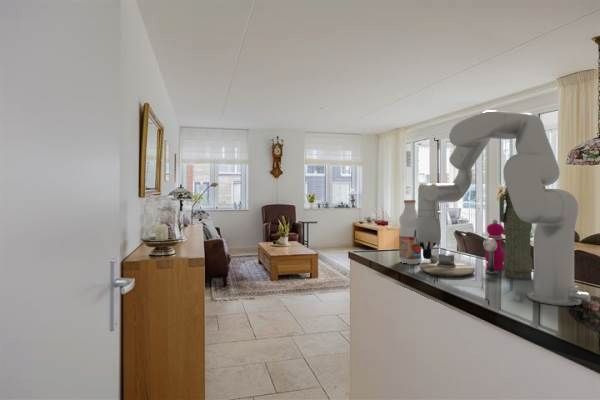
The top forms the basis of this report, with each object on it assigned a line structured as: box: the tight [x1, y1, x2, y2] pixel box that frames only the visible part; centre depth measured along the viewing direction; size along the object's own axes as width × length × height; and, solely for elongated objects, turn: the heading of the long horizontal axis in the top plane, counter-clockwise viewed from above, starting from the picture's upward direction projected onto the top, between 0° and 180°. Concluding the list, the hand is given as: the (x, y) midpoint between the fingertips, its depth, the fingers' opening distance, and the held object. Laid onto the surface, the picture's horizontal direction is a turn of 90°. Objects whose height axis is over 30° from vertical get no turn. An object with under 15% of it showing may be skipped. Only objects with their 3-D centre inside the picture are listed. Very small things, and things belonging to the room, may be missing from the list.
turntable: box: [418, 254, 476, 275], centre depth 143 cm, size 20×20×4 cm
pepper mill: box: [484, 219, 505, 271], centre depth 150 cm, size 7×7×20 cm
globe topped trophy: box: [482, 238, 498, 275], centre depth 140 cm, size 5×4×14 cm
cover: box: [437, 253, 456, 268], centre depth 143 cm, size 7×7×4 cm
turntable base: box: [424, 271, 470, 278], centre depth 143 cm, size 16×16×1 cm
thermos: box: [499, 186, 533, 281], centre depth 133 cm, size 9×12×35 cm
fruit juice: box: [398, 199, 422, 265], centre depth 164 cm, size 9×9×28 cm
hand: (426, 258), depth 151 cm, fingers closed
